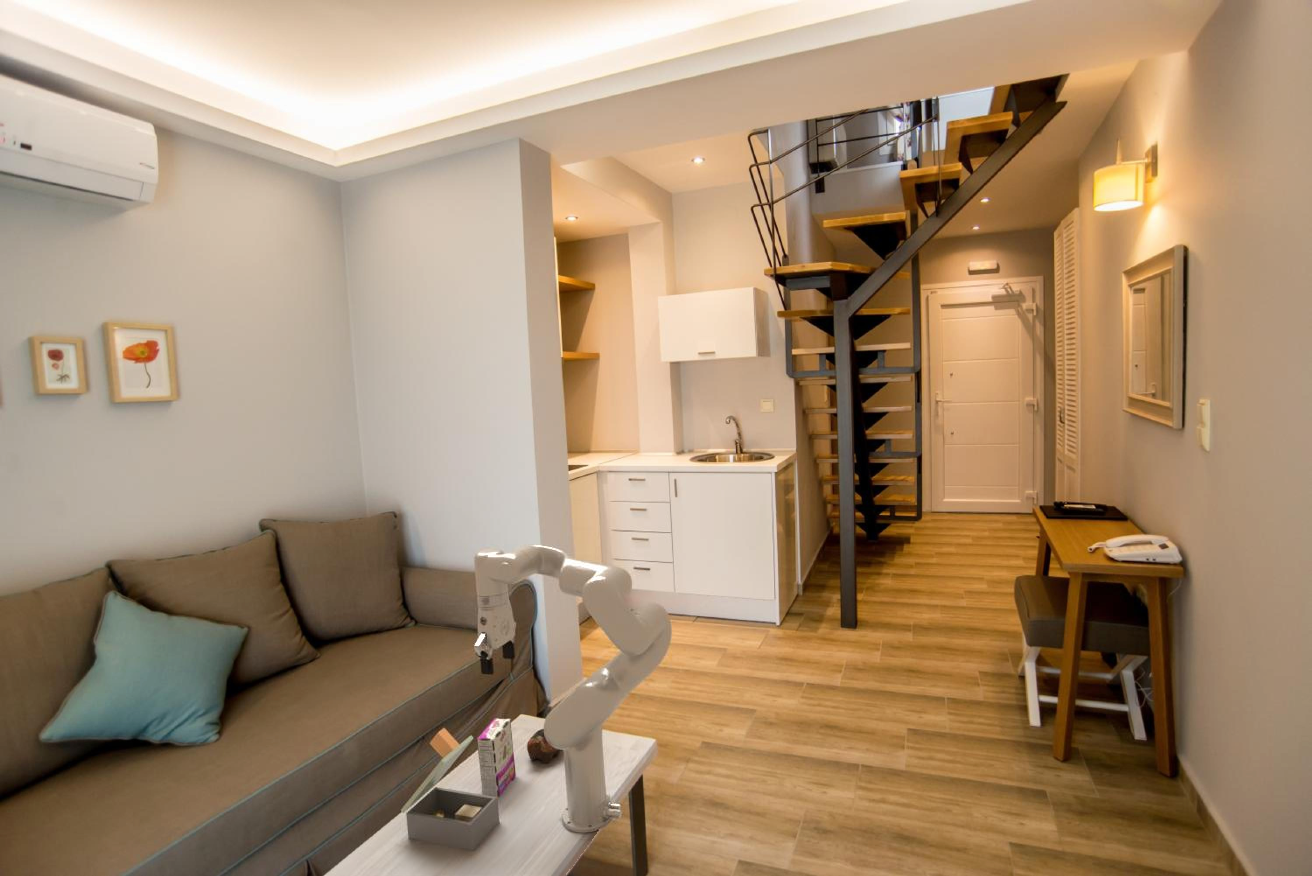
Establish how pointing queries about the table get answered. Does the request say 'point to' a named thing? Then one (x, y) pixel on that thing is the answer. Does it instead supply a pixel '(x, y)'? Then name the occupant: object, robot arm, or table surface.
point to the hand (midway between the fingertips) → (498, 665)
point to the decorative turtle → (541, 747)
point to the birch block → (467, 813)
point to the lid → (448, 752)
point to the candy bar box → (496, 757)
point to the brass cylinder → (437, 813)
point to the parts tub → (452, 819)
